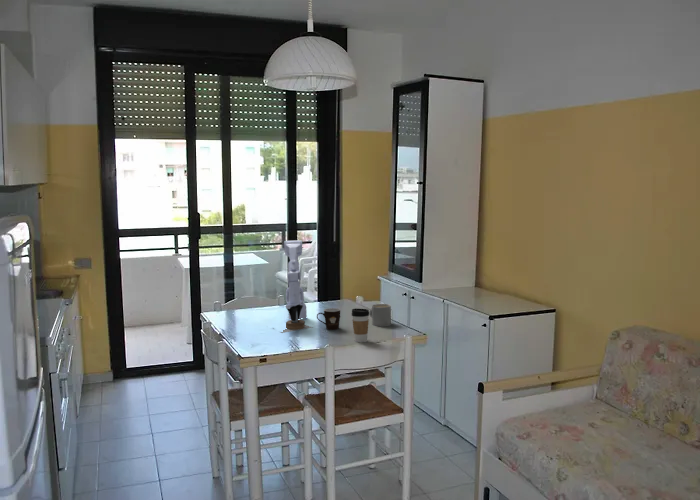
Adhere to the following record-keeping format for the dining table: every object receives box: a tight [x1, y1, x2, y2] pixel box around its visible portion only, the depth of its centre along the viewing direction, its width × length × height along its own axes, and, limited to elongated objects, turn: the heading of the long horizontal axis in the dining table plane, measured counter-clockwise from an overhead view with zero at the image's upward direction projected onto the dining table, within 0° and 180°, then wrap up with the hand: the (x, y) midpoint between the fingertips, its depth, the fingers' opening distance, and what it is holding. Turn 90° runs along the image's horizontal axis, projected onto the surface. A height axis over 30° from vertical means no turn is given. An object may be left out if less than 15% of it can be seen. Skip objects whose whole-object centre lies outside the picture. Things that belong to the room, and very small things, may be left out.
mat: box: [280, 324, 314, 334], centre depth 301 cm, size 18×18×1 cm
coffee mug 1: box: [316, 307, 341, 331], centre depth 296 cm, size 12×9×10 cm
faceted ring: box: [285, 319, 306, 331], centre depth 300 cm, size 9×9×3 cm
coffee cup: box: [351, 308, 370, 343], centre depth 271 cm, size 8×8×15 cm
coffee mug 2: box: [369, 303, 392, 327], centre depth 305 cm, size 13×10×10 cm
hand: (295, 319), depth 300 cm, fingers closed on dowel, 3 cm apart
